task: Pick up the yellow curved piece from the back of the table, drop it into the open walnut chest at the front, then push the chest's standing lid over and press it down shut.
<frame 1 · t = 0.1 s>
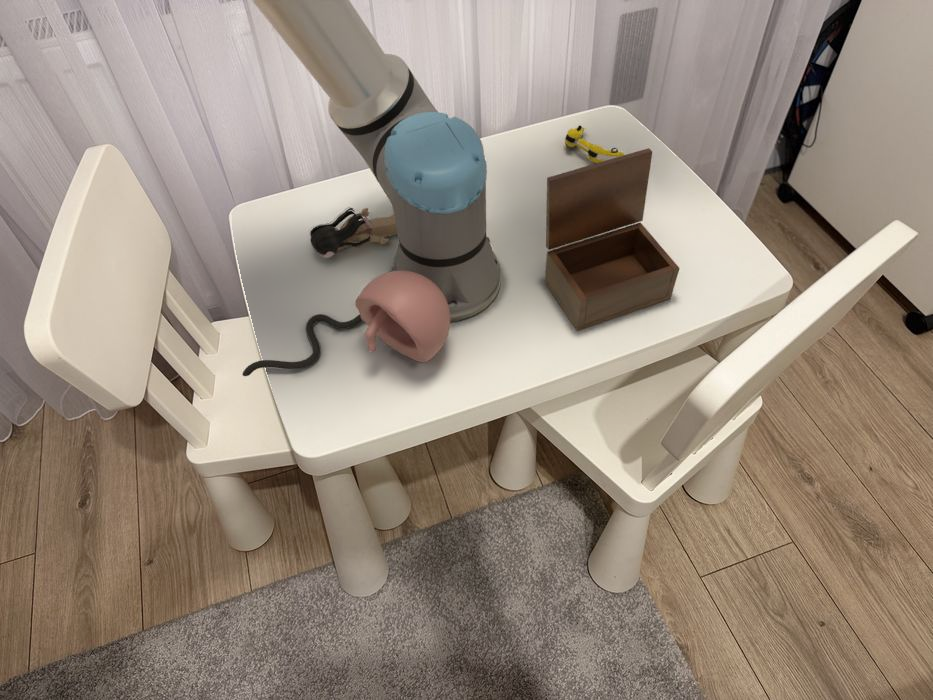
chest: (606, 290, 94), on the table
yellow curved piece: (589, 155, 113), on the table
lid: (597, 200, 88), point 12 cm above the table, hinge at 95.0°
toy figure: (362, 240, 102), on the table
mortar and pestle: (443, 290, 84), point 8 cm above the table
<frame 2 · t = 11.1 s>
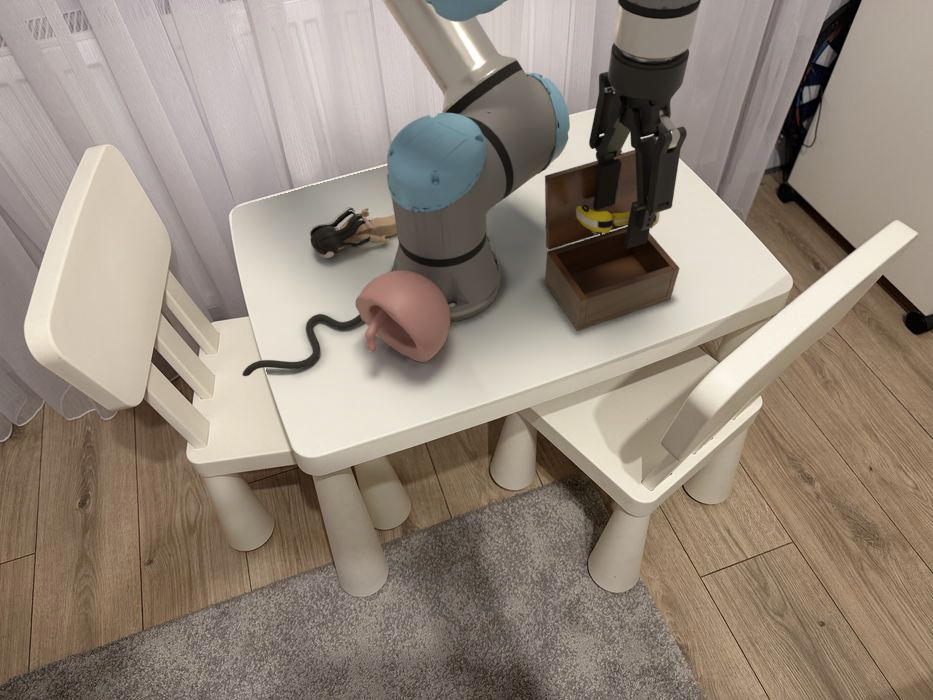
hand: (619, 224, 84), 12 cm above the table, tool pointing down, fingers closed on yellow curved piece, 7 cm apart
yellow curved piece: (619, 226, 85), point 12 cm above the table, touching gripper
lid: (596, 199, 88), point 12 cm above the table, hinge at 98.0°
everything else where it was.
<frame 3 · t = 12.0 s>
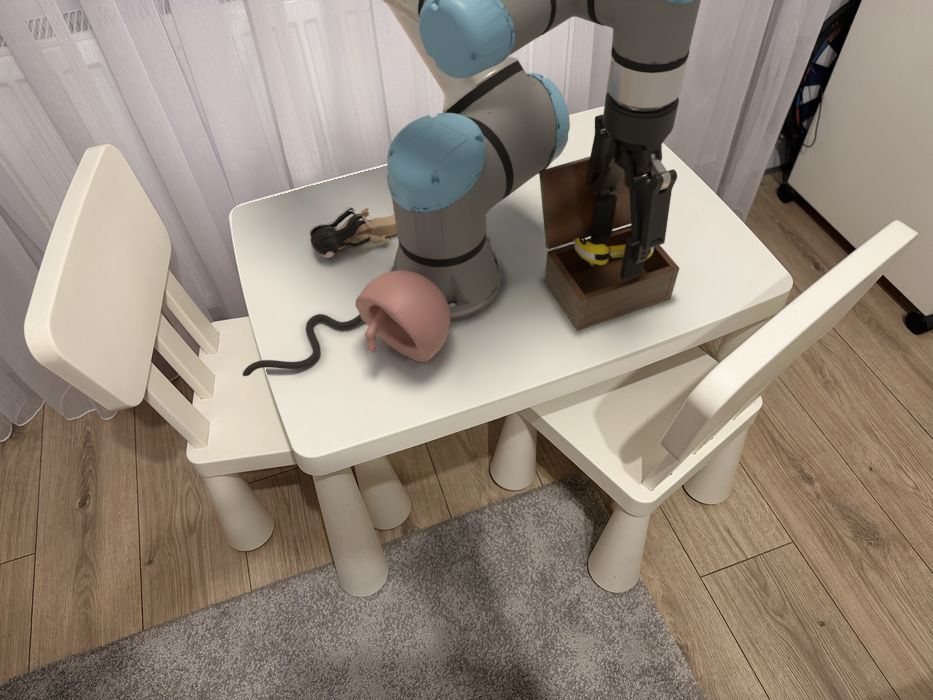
hand: (615, 255, 88), 7 cm above the table, tool pointing down, fingers closed on yellow curved piece, 7 cm apart
yellow curved piece: (615, 258, 88), point 6 cm above the table, touching gripper
lid: (593, 196, 88), point 12 cm above the table, hinge at 107.1°, touching gripper, hand
everything else where it was.
when the fingers open (6 cm above the table, at t = 15.7 s): yellow curved piece drops 5 cm, resting on chest.
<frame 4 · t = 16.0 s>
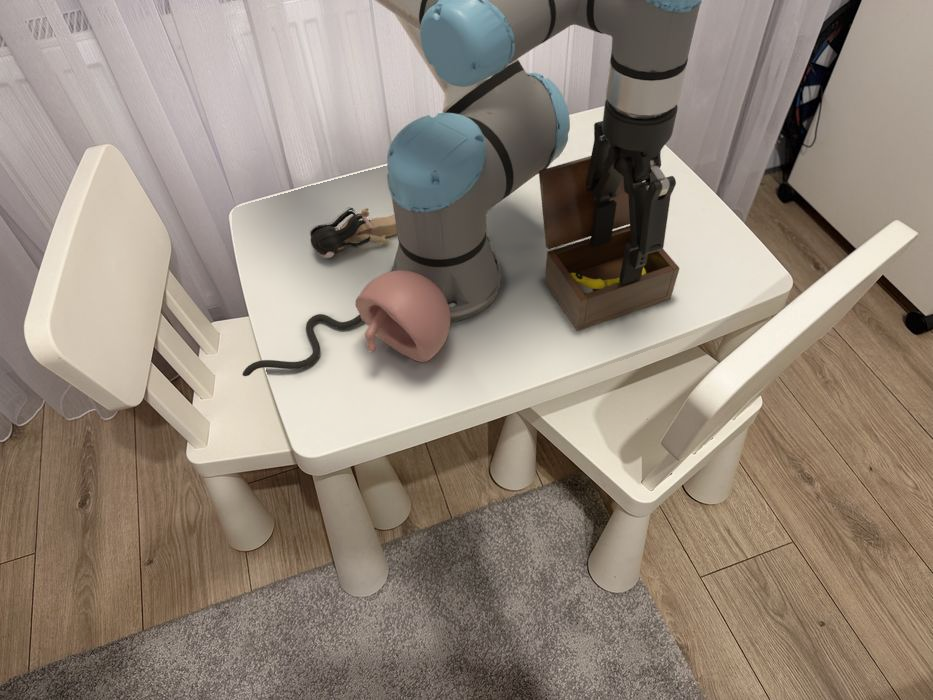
hand: (614, 260, 89), 6 cm above the table, tool pointing down, fingers open, 7 cm apart
yellow curved piece: (609, 289, 93), point 1 cm above the table, touching chest
lid: (593, 196, 89), point 11 cm above the table, hinge at 107.6°, touching gripper, hand
everything else where it was.
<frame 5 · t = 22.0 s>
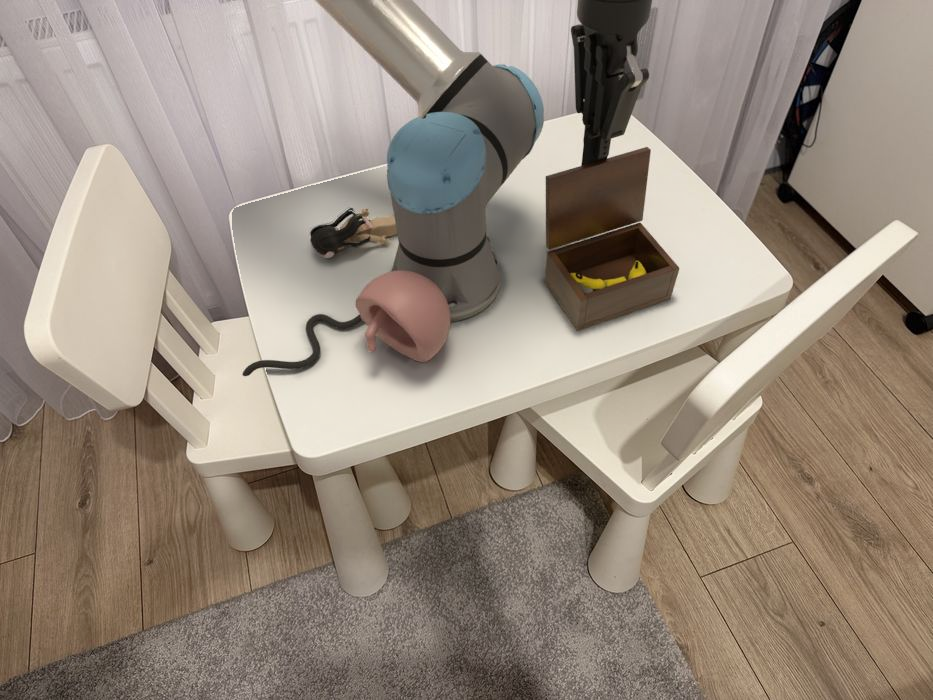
hand: (592, 173, 87), 15 cm above the table, tool pointing down, fingers closed
lid: (596, 199, 88), point 12 cm above the table, hinge at 97.1°, touching gripper
everything else where it was.
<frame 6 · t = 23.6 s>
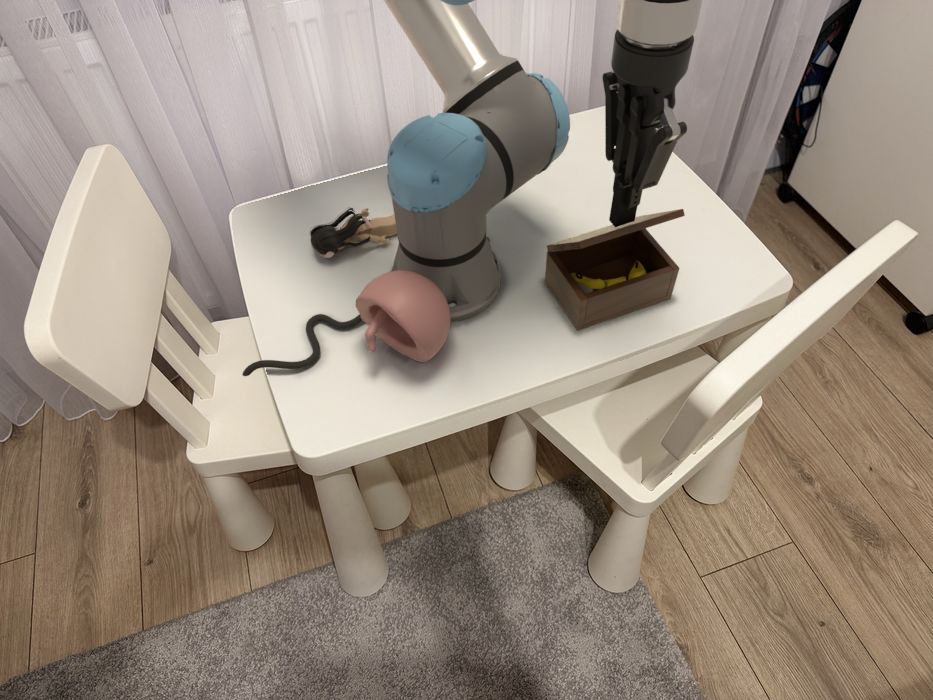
hand: (621, 220, 83), 13 cm above the table, tool pointing down, fingers closed
lid: (612, 231, 86), point 10 cm above the table, hinge at 42.7°, touching gripper
everything else where it was.
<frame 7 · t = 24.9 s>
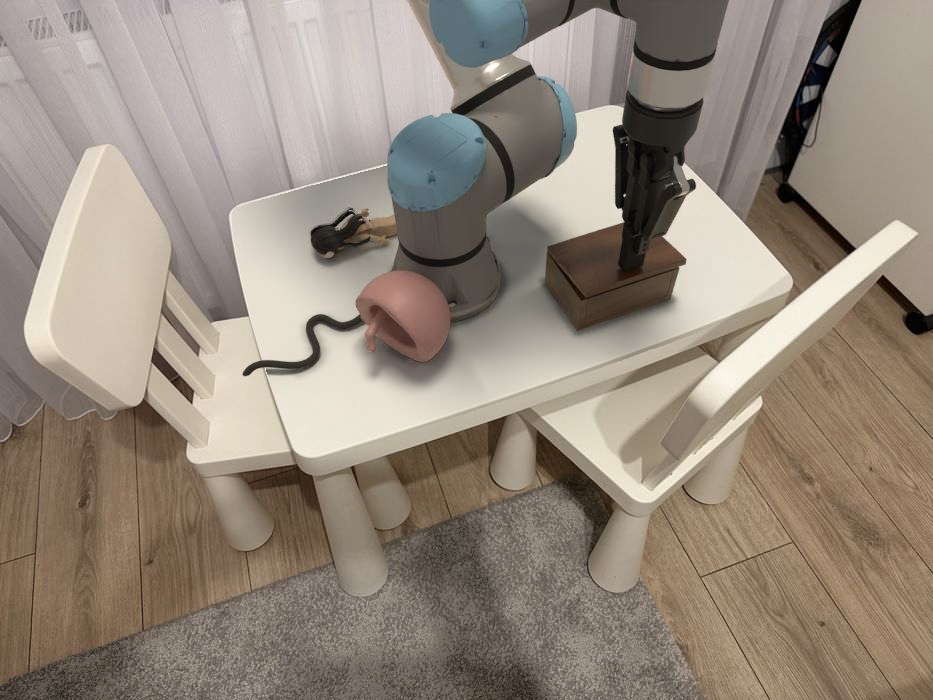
hand: (630, 265, 85), 8 cm above the table, tool pointing down, fingers closed
lid: (615, 255, 88), point 7 cm above the table, hinge at 7.1°, touching gripper
everything else where it was.
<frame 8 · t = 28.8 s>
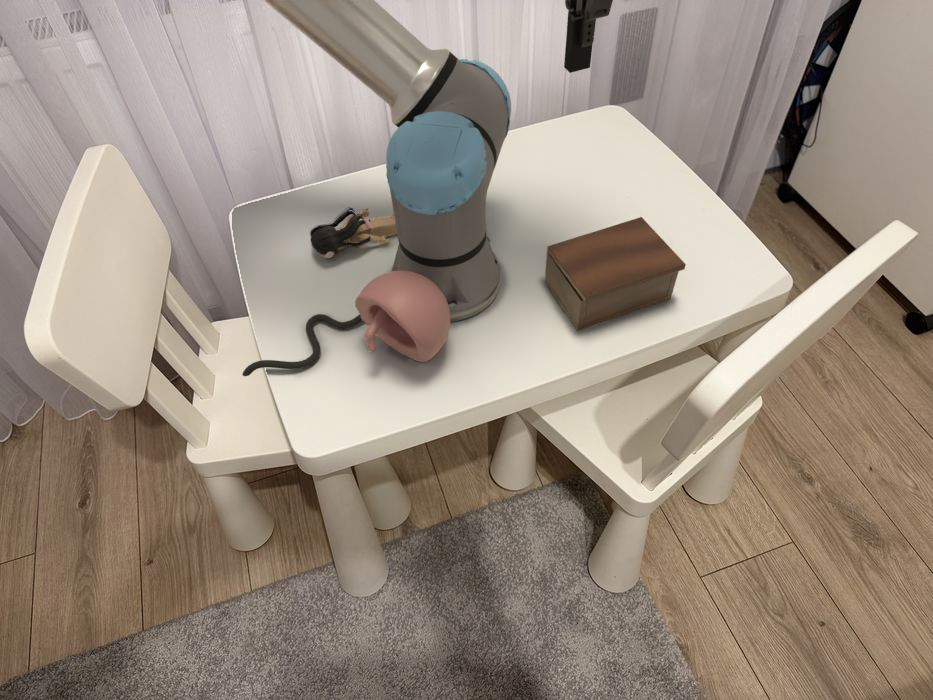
hand: (577, 67, 81), 26 cm above the table, tool pointing down, fingers closed
lid: (614, 257, 88), point 7 cm above the table, hinge at 2.7°
everything else where it was.
at the end: yellow curved piece inside the target area in the chest (0.5 cm from its centre), point 0.7 cm above the chest's base; lid at +3° (first picture: +95°) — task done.
